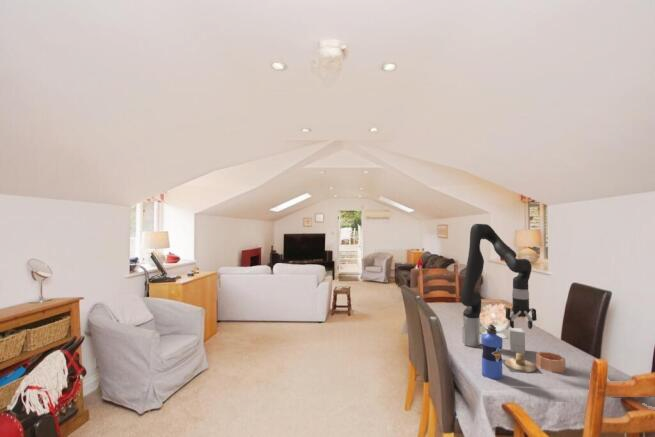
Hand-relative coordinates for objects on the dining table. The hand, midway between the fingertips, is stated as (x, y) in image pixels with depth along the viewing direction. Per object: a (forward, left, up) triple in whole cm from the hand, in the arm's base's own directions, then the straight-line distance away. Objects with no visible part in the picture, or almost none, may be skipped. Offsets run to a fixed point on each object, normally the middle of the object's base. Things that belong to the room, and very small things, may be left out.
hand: (521, 328), depth 173 cm
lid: (-1, 0, -20) cm, 20 cm away
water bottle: (-19, -12, -21) cm, 30 cm away
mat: (-1, 0, -20) cm, 20 cm away
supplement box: (+6, +22, -21) cm, 31 cm away
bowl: (+14, +1, -20) cm, 25 cm away
